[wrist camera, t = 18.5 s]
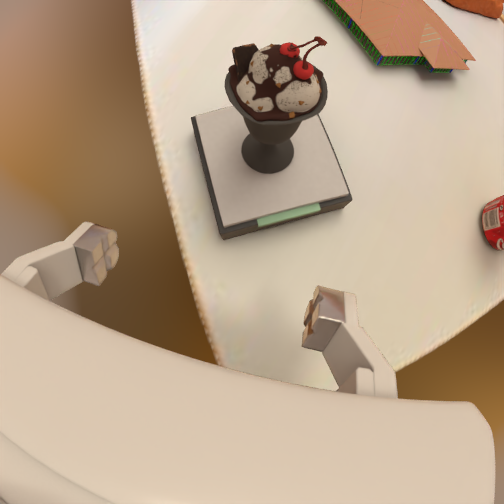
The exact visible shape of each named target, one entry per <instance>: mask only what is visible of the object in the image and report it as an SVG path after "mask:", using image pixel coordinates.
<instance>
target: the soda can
mask: <svg viewBox="0 0 504 504" xmlns="http://www.w3.org/2000/svg"><path fill="white" fill-rule="evenodd" d="M482 223H483V229H484V233H485V236H486V238H487V240H488V242H489V243H490V245H491V246H492V247H493V248H495V249H497V250H504V195H503V196H500V197H498V198H496V199H494V200H493V201H491V202H489V203H488V204H487V205H486V206H485V208H484V210H483V216H482Z"/></svg>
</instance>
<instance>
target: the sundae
mask: <svg viewBox="0 0 504 504" xmlns="http://www.w3.org/2000/svg"><path fill="white" fill-rule="evenodd" d="M314 41H318V44H317V45H315V46H313V47H312V48H310V49H309V50H308V51H307V52H306V54H305V55H304V57H303V60H302V58H301V57H300V56H299V53H300V50H299V48H300V47H304V46H306V45H308V44H310V43H312V42H314ZM326 44H327V42H326V41H325V40H323V39H322V38H321V37H315V38H314V40H312V41H310V42H307V43H305V44H303V45H299V46H297V45H295V44H293V43H284V44H282V45H273V44H271V45H270V46H266V47H264V48H262V49H260V50H258V48H257V47H256V45H255V44H249V45H243V46H240V47H235V48H233V50H232V53H233V58H234V63H235V65H232V66H230V67H229V73H228V74H227V76H226V79H225V90H226V93H227V96H228V98H229V100H230V102H231V103H232V104H233V106H234V107H235V108H236V109H237V111H238V112H239V113H240V114H241V115H242V116H243V118H244V122H245V124H246V126H247V128H248V131H249V133H250V134H248V135H247V136H246V138H245V139H244V141H243V143H242V150H241V152H242V156H243V159H244V161H245V162H246V163H247V165H249V166H250V167H251V168H252V169H254V170H256V171H258V172H260V173H269V174H272V173H276V172H280V171H282V170H283V169H285V168H286V167H287V166H289V164H290V163H291V161H292V159H293V157H294V147H293V144H292V142H291V140H290V138H291V137H292V136H293V135H294V134H295V132H296V131H297V129H298V128H299V126H300V124H301V122H302V121H304V120H307V119H309V118H311V117H313V116H315V115H317V114H319V113H320V112H321V111H322V109H323V108H324V106H325V104H326V100H327V84H326V81H325V79H324V77H323V73H322V72H321V71H320V70H318V69H317V68H316V67H315V66H313V65H312V64H310V63H309V62H307V61H306V58H307V56H308V54H309V52H310V51H311V50H312V49H314V48H316V47H318V46H320V45H322V46H323V45H324V46H325V45H326Z"/></svg>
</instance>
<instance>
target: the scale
mask: <svg viewBox="0 0 504 504" xmlns="http://www.w3.org/2000/svg"><path fill="white" fill-rule="evenodd" d="M191 120H192V125H193V129H194V133H195V137H196V141H197V145H198V149H199V153H200V158H201V162H202V166H203V170H204V174H205V178H206V182H207V185H208V189H209V193H210V197H211V201H212V205H213V209H214V213H215V217H216V220H217V224H218V228H219V232H220V235H221V237H222V239H223V240H225V239H229V238H232V237H236V236H239V235H243V234H247V233H250V232H254V231H258V230H261V229H265V228H269V227H272V226H276V225H280V224H284V223H287V222H291V221H295V220H298V219H302V218H306V217H310V216H314V215H317V214H321V213H325V212H329V211H333V210H337V209H341V208H344V207H345V206H346V205H347V204H348V203H349V202H351V201H352V196H351V194H350V191H349V188H348V185H347V183H346V180H345V177H344V175H343V172H342V169H341V167H340V164H339V162H338V159H337V157H336V154H335V152H334V149H333V147H332V144H331V142H330V140H329V137H328V135H327V133H326V130H325V128H324V126H323V123H322V121H321V119H320V117H319V114H317V115H315V116H313V117H311V118H309V119H307V120H304V121H302V122H301V124H300V126H299V128H298V129H297V131H296V132H295V134H294V135H293V136H292V137H291V138H290V140H291V142H292V144H293V147H294V157H293V159H292V161H291V163H290V164H289V166H287V167H286V168H285V169H283V170H282V171H280V172H276V173H272V174H269V173H260V172H258V171H256V170H254V169H252V168H251V167H250V166H249V165H247V163H246V162H245V161H244V159H243V156H242V152H241V150H242V143H243V141H244V139H245V138H246V136H247V135H248V134H250V133H249V131H248V128H247V126H246V124H245V122H244V118H243V116H242V115H241V114H240V113H239V112H238V111H237V109H236V108H235V107H234V106H231V107H227V108H223V109H218V110H215V111H211V112H207V113H203V114H199V115H196V116H194V117H191Z"/></svg>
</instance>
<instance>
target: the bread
mask: <svg viewBox="0 0 504 504" xmlns="http://www.w3.org/2000/svg"><path fill="white" fill-rule="evenodd" d="M445 1H447V2H448V3H450V4H451V5H453V6H454V7H458V8H461V9H464V10H468V11H471V12H475V13H480V14H482V15H484V16H488V17H493V18H499V17H500V16H501V14H502V10H503V3H504V0H445Z"/></svg>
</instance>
